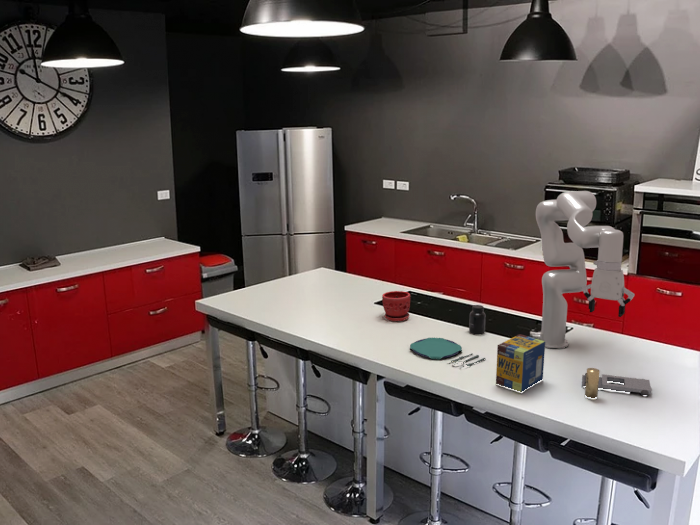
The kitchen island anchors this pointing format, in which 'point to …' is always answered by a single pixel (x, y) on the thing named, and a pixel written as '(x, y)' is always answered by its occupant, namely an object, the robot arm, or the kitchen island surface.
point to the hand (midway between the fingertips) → (606, 313)
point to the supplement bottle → (477, 320)
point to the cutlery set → (439, 349)
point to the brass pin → (592, 382)
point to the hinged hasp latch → (629, 385)
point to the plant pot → (396, 305)
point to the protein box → (520, 362)
